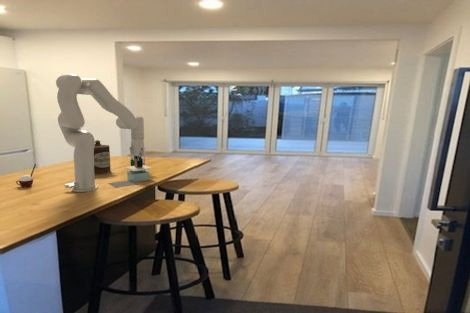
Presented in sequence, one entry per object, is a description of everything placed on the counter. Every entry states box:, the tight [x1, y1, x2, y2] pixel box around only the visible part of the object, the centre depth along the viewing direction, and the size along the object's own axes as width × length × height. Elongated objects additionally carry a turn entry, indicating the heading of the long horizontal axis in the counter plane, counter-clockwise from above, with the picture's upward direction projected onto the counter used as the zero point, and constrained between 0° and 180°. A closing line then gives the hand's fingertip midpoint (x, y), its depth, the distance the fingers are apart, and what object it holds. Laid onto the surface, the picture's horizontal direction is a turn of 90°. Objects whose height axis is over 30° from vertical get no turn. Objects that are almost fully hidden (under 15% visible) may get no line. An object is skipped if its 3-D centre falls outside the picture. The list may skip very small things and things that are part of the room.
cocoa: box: [15, 164, 37, 188], centre depth 163 cm, size 10×6×12 cm, turn 93°
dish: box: [126, 170, 151, 183], centre depth 185 cm, size 10×10×5 cm
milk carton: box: [129, 146, 146, 166], centre depth 203 cm, size 9×9×20 cm
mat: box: [107, 179, 139, 189], centre depth 173 cm, size 13×13×1 cm
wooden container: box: [94, 139, 111, 175], centre depth 203 cm, size 15×15×22 cm
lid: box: [124, 158, 153, 171], centre depth 184 cm, size 12×12×6 cm
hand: (138, 166), depth 185 cm, fingers closed on lid, 3 cm apart
